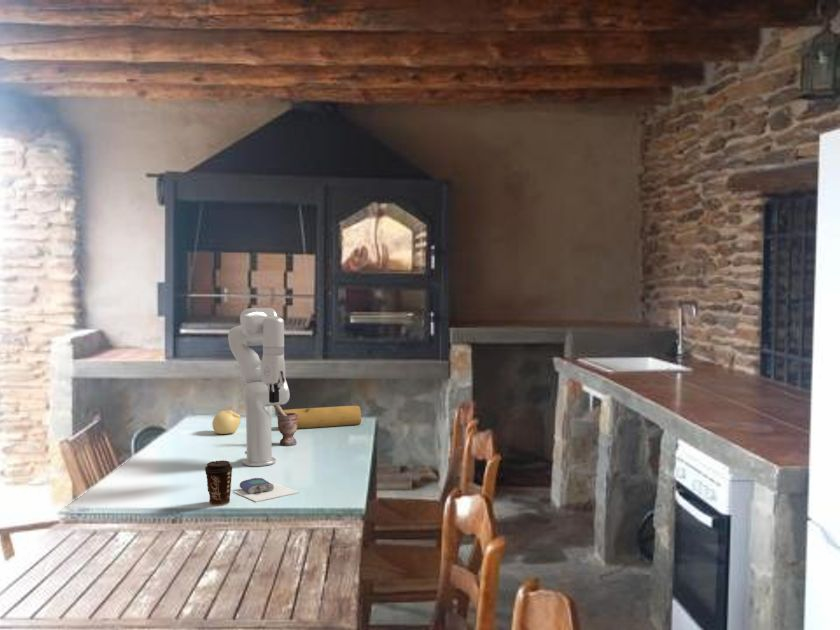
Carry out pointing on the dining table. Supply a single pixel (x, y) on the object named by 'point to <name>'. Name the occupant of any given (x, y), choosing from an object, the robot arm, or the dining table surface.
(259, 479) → the blue green-marked block
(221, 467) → the coffee cup
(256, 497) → the mat
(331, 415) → the log
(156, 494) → the dining table surface
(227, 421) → the yellow apple
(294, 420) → the mortar and pestle
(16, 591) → the dining table surface
